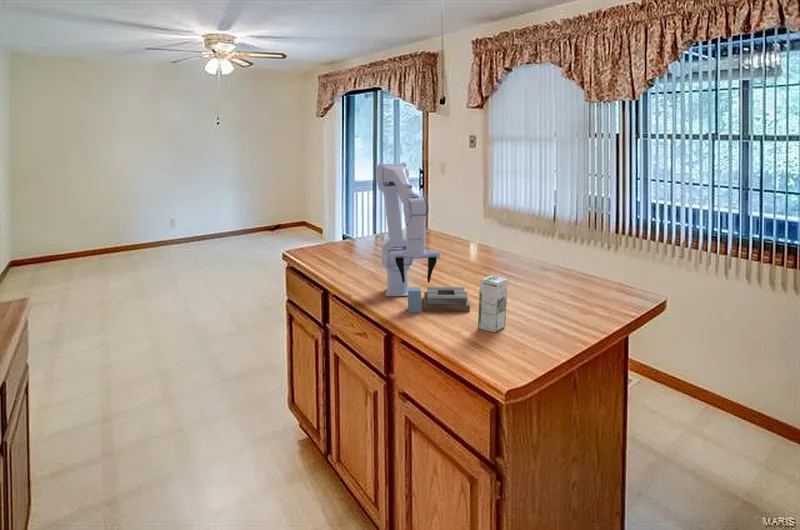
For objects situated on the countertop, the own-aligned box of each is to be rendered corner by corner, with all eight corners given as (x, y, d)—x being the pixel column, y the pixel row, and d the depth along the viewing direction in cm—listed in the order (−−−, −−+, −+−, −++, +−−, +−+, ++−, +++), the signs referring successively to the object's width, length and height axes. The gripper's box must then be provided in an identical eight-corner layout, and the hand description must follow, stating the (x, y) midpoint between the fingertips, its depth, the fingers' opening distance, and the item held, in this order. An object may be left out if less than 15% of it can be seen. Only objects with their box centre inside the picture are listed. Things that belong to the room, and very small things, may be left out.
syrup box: (487, 323, 156) (489, 274, 152) (506, 327, 152) (508, 278, 148) (477, 328, 151) (478, 279, 148) (496, 333, 148) (498, 282, 144)
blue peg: (408, 308, 169) (408, 287, 167) (421, 308, 169) (421, 287, 167) (408, 312, 165) (407, 290, 163) (421, 312, 165) (421, 290, 163)
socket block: (424, 297, 179) (424, 286, 178) (466, 297, 179) (466, 286, 178) (424, 311, 166) (424, 299, 165) (469, 311, 165) (470, 299, 164)
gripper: (391, 240, 157) (392, 285, 161) (440, 240, 157) (440, 284, 160) (391, 236, 164) (392, 279, 167) (439, 235, 164) (439, 278, 167)
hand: (416, 281), depth 164 cm, fingers open, 7 cm apart
